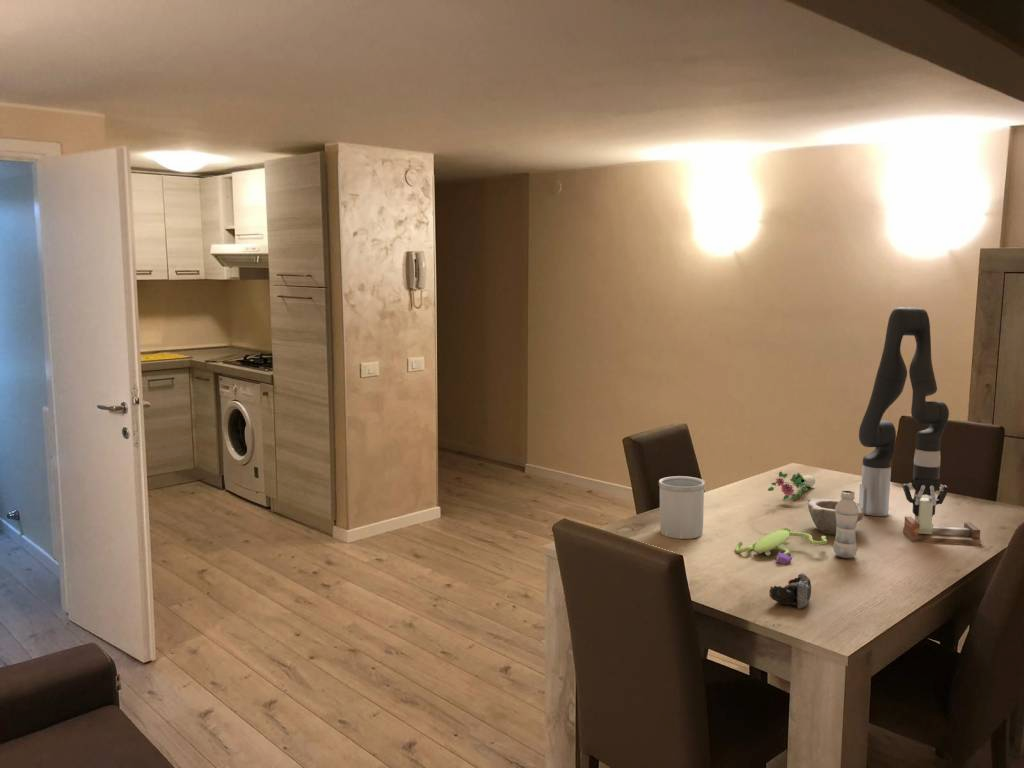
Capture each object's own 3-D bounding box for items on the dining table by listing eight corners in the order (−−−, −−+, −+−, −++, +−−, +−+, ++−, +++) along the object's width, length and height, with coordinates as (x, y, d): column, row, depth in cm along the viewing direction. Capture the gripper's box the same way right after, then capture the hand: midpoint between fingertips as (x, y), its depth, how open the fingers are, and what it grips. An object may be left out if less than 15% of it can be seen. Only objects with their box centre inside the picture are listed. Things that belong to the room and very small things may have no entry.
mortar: (859, 526, 271) (860, 499, 270) (863, 541, 256) (865, 513, 254) (806, 521, 277) (807, 495, 276) (807, 536, 261) (808, 508, 260)
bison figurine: (810, 596, 212) (770, 589, 216) (812, 571, 211) (772, 564, 215) (809, 614, 201) (767, 607, 205) (812, 587, 200) (770, 580, 204)
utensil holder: (649, 533, 265) (650, 481, 262) (673, 523, 275) (674, 473, 273) (688, 543, 255) (689, 489, 252) (712, 532, 265) (713, 480, 263)
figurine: (835, 553, 246) (836, 535, 245) (775, 569, 232) (776, 551, 231) (786, 537, 262) (787, 520, 261) (728, 551, 248) (728, 533, 247)
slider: (919, 534, 256) (921, 502, 255) (912, 527, 263) (914, 496, 262) (932, 534, 255) (934, 503, 254) (925, 528, 262) (927, 497, 261)
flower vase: (814, 507, 320) (794, 508, 291) (785, 493, 327) (762, 494, 297) (827, 480, 319) (807, 479, 290) (797, 467, 326) (775, 464, 296)
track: (911, 541, 255) (912, 524, 255) (902, 531, 265) (903, 515, 264) (980, 545, 252) (981, 528, 251) (968, 535, 261) (970, 518, 261)
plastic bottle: (846, 562, 237) (849, 496, 234) (827, 555, 243) (831, 490, 240) (861, 558, 240) (865, 493, 237) (842, 551, 246) (846, 488, 243)
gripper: (906, 465, 254) (903, 518, 256) (955, 466, 251) (951, 520, 253) (899, 460, 261) (896, 511, 263) (946, 461, 259) (943, 513, 261)
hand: (923, 515), depth 258 cm, fingers closed on slider, 3 cm apart
